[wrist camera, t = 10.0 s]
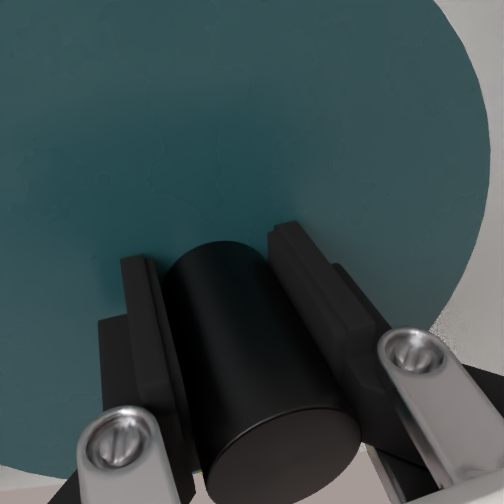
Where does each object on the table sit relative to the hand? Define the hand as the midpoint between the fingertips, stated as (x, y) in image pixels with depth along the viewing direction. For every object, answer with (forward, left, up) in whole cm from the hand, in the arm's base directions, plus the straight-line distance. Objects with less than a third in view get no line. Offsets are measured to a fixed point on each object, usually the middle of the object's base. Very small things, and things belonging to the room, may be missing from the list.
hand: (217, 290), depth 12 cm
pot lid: (0, 0, -1) cm, 1 cm away
